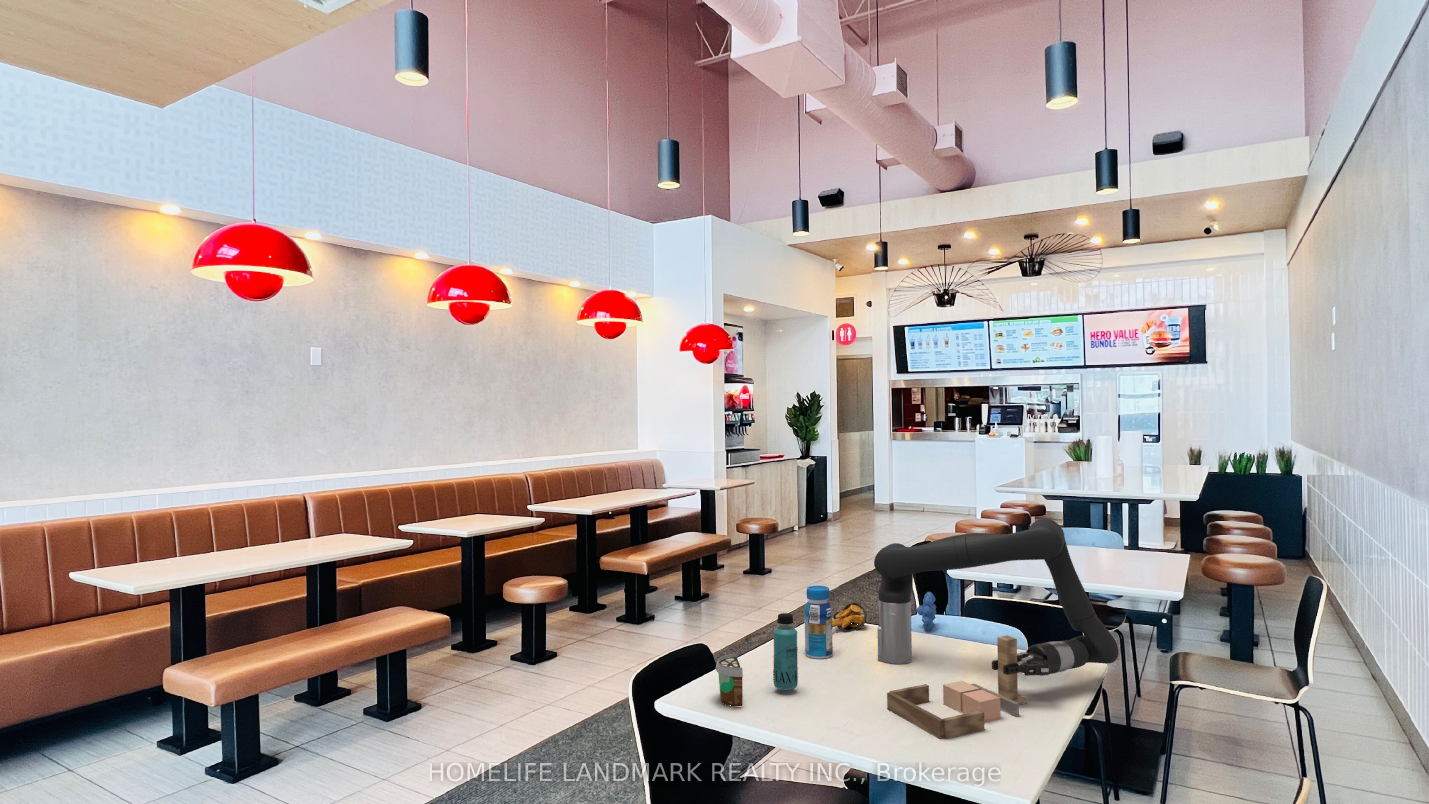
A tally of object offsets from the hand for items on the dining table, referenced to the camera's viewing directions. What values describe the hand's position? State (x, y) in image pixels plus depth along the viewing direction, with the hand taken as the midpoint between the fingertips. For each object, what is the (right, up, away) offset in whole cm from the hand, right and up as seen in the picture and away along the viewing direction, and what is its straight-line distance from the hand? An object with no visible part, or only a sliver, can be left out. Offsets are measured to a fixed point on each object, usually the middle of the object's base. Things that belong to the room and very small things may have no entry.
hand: (998, 667), depth 195 cm
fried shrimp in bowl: (-27, -10, +66) cm, 72 cm away
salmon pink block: (-7, -9, -7) cm, 13 cm away
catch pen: (-17, -9, -8) cm, 21 cm away
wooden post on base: (+3, -9, +1) cm, 9 cm away
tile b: (-9, -9, -1) cm, 13 cm away
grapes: (0, -10, +66) cm, 67 cm away
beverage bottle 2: (-39, -10, +41) cm, 57 cm away
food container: (-66, -10, +5) cm, 67 cm away
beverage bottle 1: (-51, -10, +11) cm, 53 cm away
